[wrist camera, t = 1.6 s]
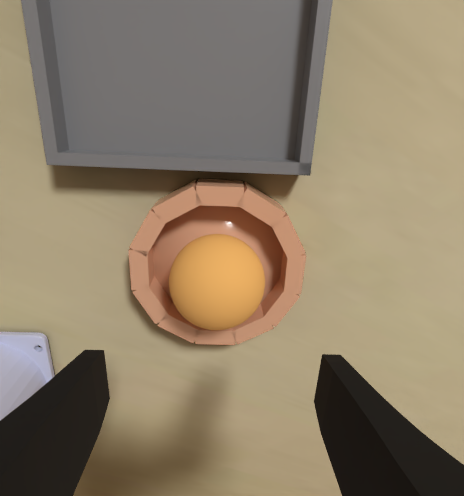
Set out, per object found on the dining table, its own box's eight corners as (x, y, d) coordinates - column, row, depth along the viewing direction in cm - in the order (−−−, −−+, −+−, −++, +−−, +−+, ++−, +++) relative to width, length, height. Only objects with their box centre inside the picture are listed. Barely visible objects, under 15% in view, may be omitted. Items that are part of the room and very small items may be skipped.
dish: (287, 326, 22) (293, 345, 20) (142, 323, 22) (135, 342, 20) (305, 182, 19) (315, 190, 17) (133, 176, 18) (123, 183, 16)
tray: (302, 170, 18) (309, 175, 17) (63, 160, 18) (46, 164, 16) (329, -59, 15) (342, -81, 13) (30, -79, 14) (4, -105, 13)
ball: (256, 299, 21) (266, 352, 16) (176, 297, 21) (162, 350, 16) (262, 223, 19) (276, 257, 14) (175, 220, 19) (159, 254, 14)
